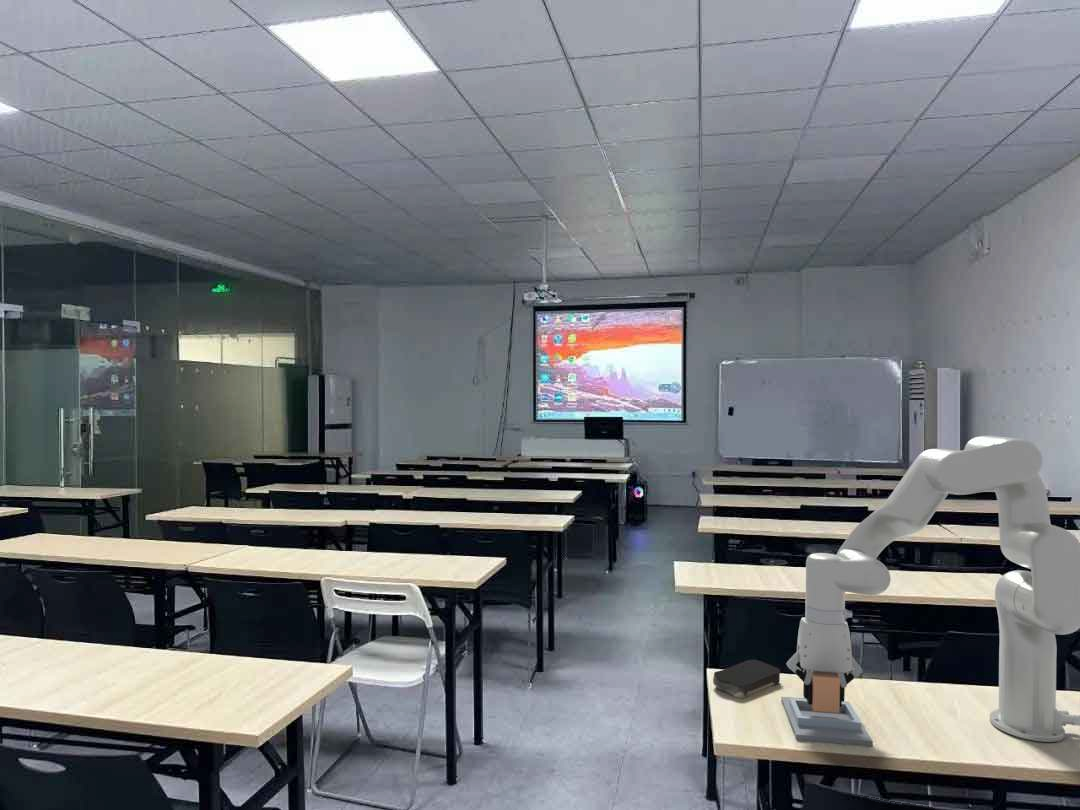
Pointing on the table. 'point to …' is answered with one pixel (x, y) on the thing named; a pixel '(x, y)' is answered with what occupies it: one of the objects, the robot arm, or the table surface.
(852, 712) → the holder dock
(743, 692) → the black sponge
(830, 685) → the orange rectangular block
